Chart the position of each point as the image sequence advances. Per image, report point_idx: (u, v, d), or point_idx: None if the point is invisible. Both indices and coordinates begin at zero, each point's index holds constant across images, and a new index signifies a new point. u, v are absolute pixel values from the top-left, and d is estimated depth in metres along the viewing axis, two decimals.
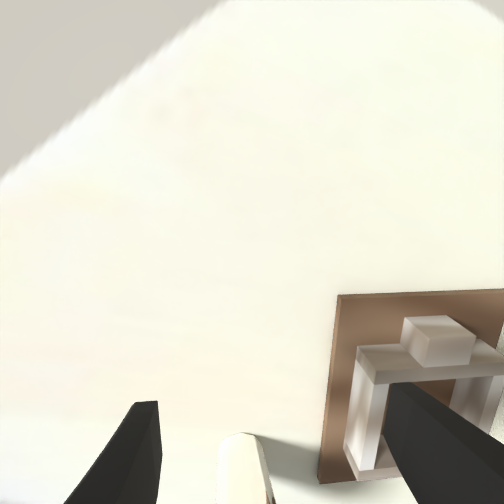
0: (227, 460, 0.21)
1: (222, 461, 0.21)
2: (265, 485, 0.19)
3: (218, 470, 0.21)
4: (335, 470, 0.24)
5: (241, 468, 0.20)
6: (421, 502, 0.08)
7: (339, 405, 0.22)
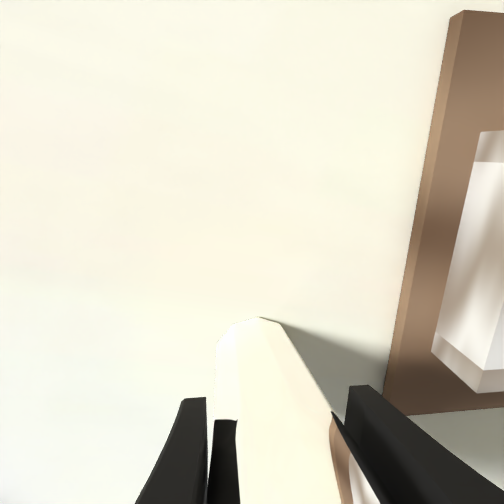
0: (235, 350, 0.11)
1: (225, 356, 0.11)
2: (315, 383, 0.09)
3: (218, 370, 0.11)
4: (414, 392, 0.14)
5: (264, 356, 0.10)
6: None
7: (433, 263, 0.12)
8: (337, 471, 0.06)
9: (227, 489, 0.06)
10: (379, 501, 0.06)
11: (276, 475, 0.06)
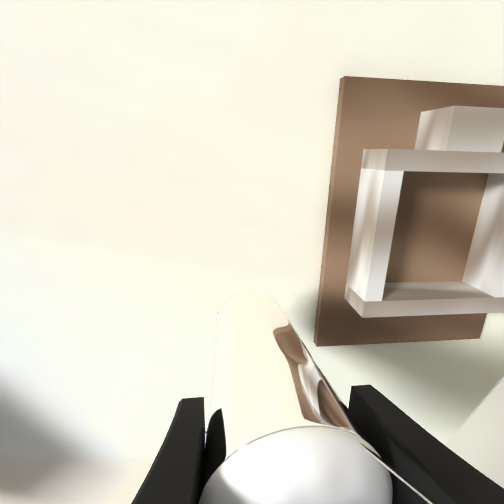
0: (233, 317, 0.12)
1: (225, 322, 0.13)
2: (301, 343, 0.11)
3: (218, 334, 0.12)
4: (335, 328, 0.20)
5: (258, 320, 0.12)
6: None
7: (340, 235, 0.18)
8: (311, 398, 0.08)
9: (223, 414, 0.08)
10: (342, 419, 0.07)
11: (262, 400, 0.08)
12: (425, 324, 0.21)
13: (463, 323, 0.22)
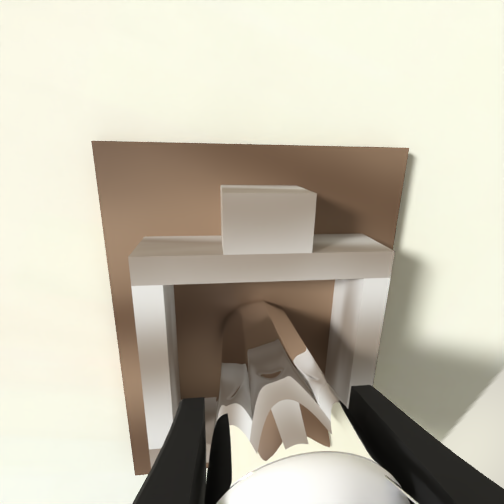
0: (241, 327, 0.12)
1: (232, 331, 0.12)
2: None
3: (224, 343, 0.12)
4: None
5: (268, 332, 0.11)
6: None
7: (136, 345, 0.14)
8: (330, 420, 0.07)
9: (233, 430, 0.07)
10: (364, 446, 0.07)
11: (277, 419, 0.07)
12: None
13: None
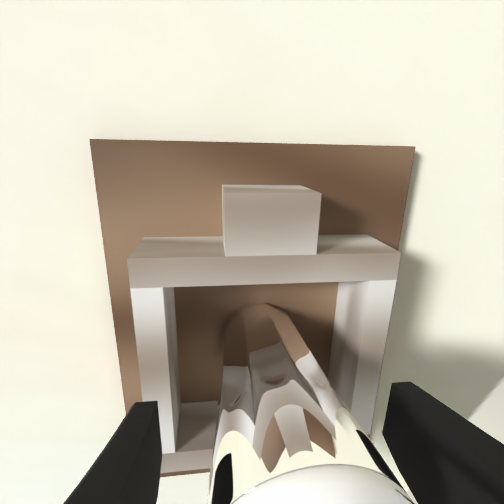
0: (243, 330, 0.11)
1: (233, 335, 0.12)
2: (318, 364, 0.10)
3: (226, 347, 0.11)
4: None
5: (271, 335, 0.11)
6: (421, 502, 0.08)
7: (136, 347, 0.13)
8: (337, 430, 0.07)
9: (235, 440, 0.07)
10: (373, 458, 0.06)
11: (282, 429, 0.07)
12: None
13: None
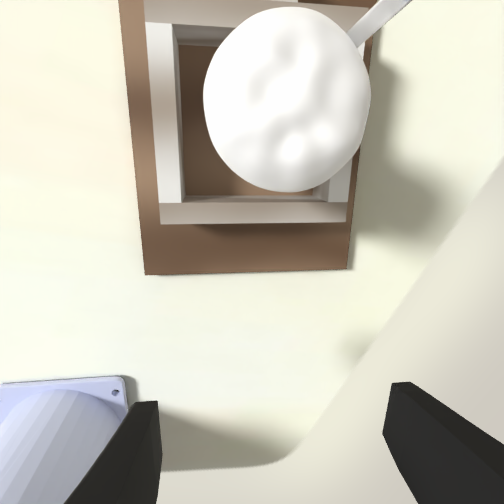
0: None
1: None
2: None
3: None
4: (163, 252, 0.17)
5: None
6: (421, 502, 0.08)
7: (146, 132, 0.15)
8: None
9: None
10: None
11: None
12: (276, 250, 0.18)
13: (323, 250, 0.19)
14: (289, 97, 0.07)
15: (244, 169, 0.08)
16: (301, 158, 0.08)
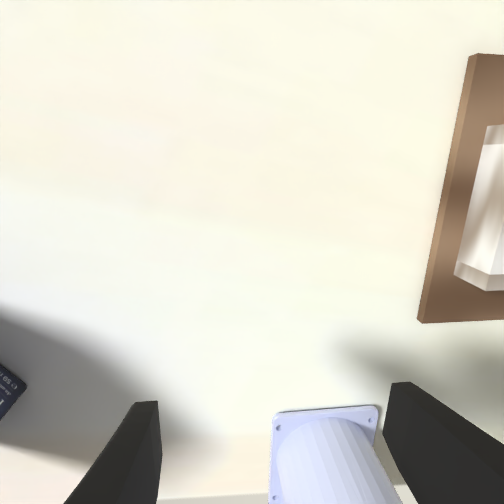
0: None
1: None
2: None
3: None
4: (441, 305, 0.21)
5: None
6: (421, 502, 0.08)
7: (456, 212, 0.19)
8: None
9: None
10: None
11: None
12: None
13: None
14: None
15: None
16: None
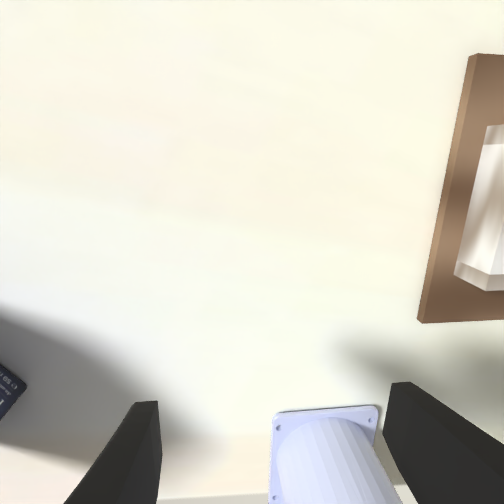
0: None
1: None
2: None
3: None
4: (441, 305, 0.21)
5: None
6: (421, 502, 0.08)
7: (456, 212, 0.19)
8: None
9: None
10: None
11: None
12: None
13: None
14: None
15: None
16: None
